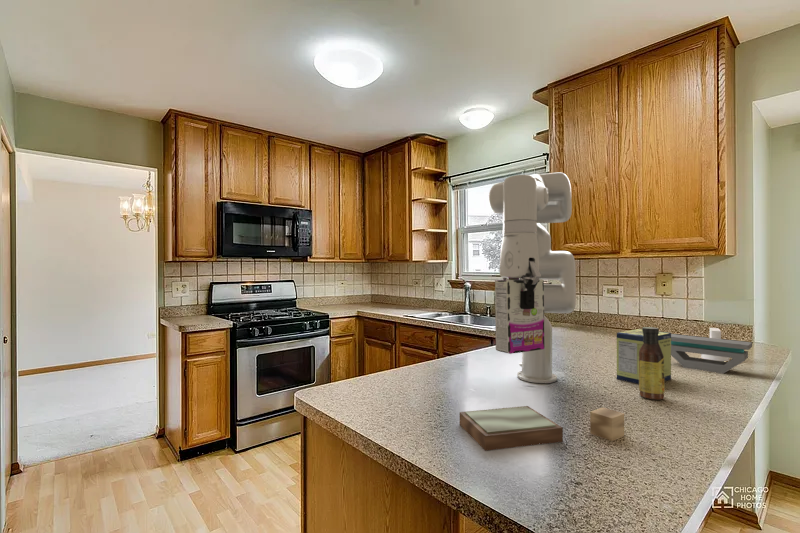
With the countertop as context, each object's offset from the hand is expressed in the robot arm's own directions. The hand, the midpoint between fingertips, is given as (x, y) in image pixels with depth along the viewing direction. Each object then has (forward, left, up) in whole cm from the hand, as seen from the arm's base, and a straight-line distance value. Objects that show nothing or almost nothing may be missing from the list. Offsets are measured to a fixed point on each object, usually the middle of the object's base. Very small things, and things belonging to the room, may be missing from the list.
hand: (519, 306), depth 95 cm
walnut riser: (+2, -4, -28) cm, 29 cm away
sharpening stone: (-33, +94, -28) cm, 104 cm away
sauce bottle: (-11, +48, -28) cm, 57 cm away
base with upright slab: (-44, +112, -28) cm, 124 cm away
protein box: (-27, +61, -29) cm, 73 cm away
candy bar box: (0, 0, -10) cm, 10 cm away
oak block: (+8, +17, -28) cm, 34 cm away
